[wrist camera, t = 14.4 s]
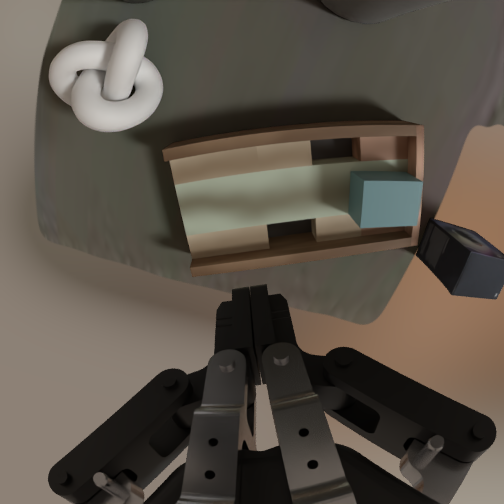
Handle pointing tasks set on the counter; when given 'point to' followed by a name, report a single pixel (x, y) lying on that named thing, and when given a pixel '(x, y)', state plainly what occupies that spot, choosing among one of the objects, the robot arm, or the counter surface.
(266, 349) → the robot arm
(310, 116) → the counter surface
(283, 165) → the track
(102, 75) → the white knot sculpture
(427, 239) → the small box
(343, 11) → the canister
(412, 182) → the block
